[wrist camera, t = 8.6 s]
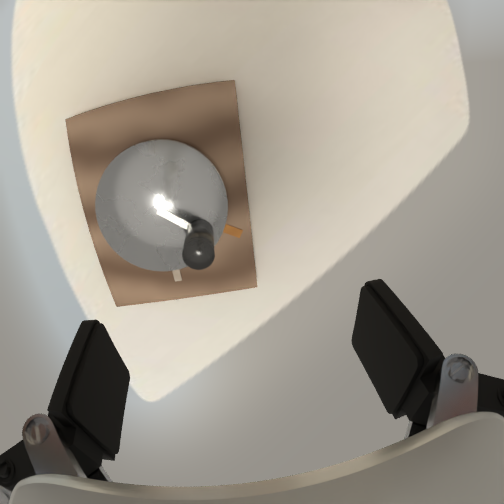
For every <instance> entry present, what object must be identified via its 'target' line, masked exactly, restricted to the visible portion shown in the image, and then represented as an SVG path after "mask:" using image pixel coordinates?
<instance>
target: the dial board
mask: <svg viewBox="0 0 504 504" xmlns="http://www.w3.org/2000/svg"><path fill="white" fill-rule="evenodd" d="M66 126H67V133H68V140H69V146H70V151H71V157H72V162H73V167H74V172H75V177H76V181H77V186H78V190H79V194H80V198H81V202H82V206H83V210H84V213H85V217H86V220H87V224H88V227H89V231H90V234H91V237H92V240H93V244H94V247H95V250H96V253H97V256H98V259H99V262H100V264H101V267H102V270H103V273H104V276H105V278H106V281H107V284H108V286H109V289H110V291H111V294H112V296H113V299H114V301H115V304H116V306H117V307H118V306H127V305H135V304H143V303H151V302H159V301H167V300H174V299H181V298H189V297H196V296H203V295H209V294H216V293H223V292H229V291H236V290H242V289H248V288H255V287H257V279H256V270H255V261H254V252H253V242H252V233H251V224H250V215H249V206H248V197H247V188H246V178H245V169H244V160H243V151H242V142H241V133H240V124H239V115H238V106H237V97H236V88H235V80H230V81H221V82H213V83H206V84H199V85H192V86H186V87H181V88H175V89H170V90H165V91H160V92H156V93H151V94H147V95H143V96H138V97H135V98H131V99H127V100H123V101H120V102H116V103H113V104H109V105H106V106H103V107H100V108H96V109H93V110H90V111H87V112H85V113H82V114H79V115H76V116H73V117H71V118H68V119H66ZM157 139H169V140H175V141H179V142H182V143H185V144H188V145H190V146H192V147H194V148H196V149H197V150H199V151H200V152H202V153H203V154H204V155H205V156H206V157H207V158H208V159H209V160H210V161H211V162H212V163H213V164H214V166H215V167H216V169H217V170H218V172H219V174H220V176H221V178H222V180H223V183H224V186H225V189H226V194H227V200H228V213H227V220H226V224H225V228H224V230H223V233H222V235H221V237H220V239H219V241H218V242H217V244H216V245H215V246H214V251H215V258H214V261H213V263H212V264H211V265H210V266H209V267H207V268H205V269H202V270H195V269H192V268H190V267H185V268H182V269H179V270H173V271H152V270H147V269H144V268H140V267H138V266H135V265H133V264H131V263H129V262H128V261H126V260H124V259H123V258H122V257H121V256H119V255H118V254H117V253H116V252H115V251H114V250H113V249H112V248H111V247H110V245H109V244H108V243H107V241H106V240H105V238H104V237H103V235H102V232H101V230H100V228H99V225H98V222H97V217H96V211H95V199H96V192H97V187H98V184H99V181H100V179H101V177H102V175H103V173H104V171H105V170H106V168H107V167H108V165H109V164H110V163H111V162H112V161H113V160H114V158H115V157H117V156H118V155H119V154H120V153H122V152H123V151H125V150H126V149H128V148H130V147H132V146H134V145H136V144H139V143H142V142H146V141H150V140H157Z"/></svg>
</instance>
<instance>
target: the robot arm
mask: <svg viewBox="0 0 504 504" xmlns="http://www.w3.org/2000/svg"><path fill="white" fill-rule="evenodd" d="M352 345H353V348H354V350H355V351H356V353H357V355H358V357H359V359H360V361H361V362H362V364H363V366H364V368H365V370H366V372H367V374H368V376H369V377H370V379H371V381H372V383H373V385H374V387H375V389H376V391H377V393H378V395H379V397H380V398H381V401H382V403H383V404H384V406H385V408H386V410H387V412H388V413H389V414H393V416H394V418H395V419H397V418H400V417H401V416H404V415H407V417H408V419H409V424H408V428H407V431H406V435H405V438H404V440H402V441H399V442H397V443H395V444H392V445H390V446H387V447H385V448H382V449H379V450H377V451H374V452H372V453H369V454H366V455H363V456H361V457H358V458H355V459H352V460H349V461H346V462H342V463H339V464H336V465H332V466H329V467H326V468H321V469H318V470H314V471H310V472H305V473H301V474H297V475H292V476H287V477H282V478H277V479H271V480H264V481H258V482H250V483H242V484H233V485H220V486H201V487H164V486H146V485H134V484H123V483H115V482H113V481H112V480H111V479H110V477H109V476H108V474H107V473H106V472H105V470H104V468H103V467H102V465H101V463H102V459H105V460H115V454H117V453H118V452H119V446H120V438H121V431H122V424H123V416H124V410H125V403H126V398H127V392H128V386H129V381H130V374H129V371H128V369H127V367H126V366H125V364H124V362H123V360H122V359H121V357H120V355H119V353H118V351H117V349H116V348H115V346H114V344H113V342H112V340H111V338H110V336H109V334H108V332H107V330H106V328H105V326H104V325H103V324H102V323H100V322H99V321H98V320H85V321H82V323H81V325H80V327H79V329H78V331H77V333H76V336H75V338H74V340H73V343H72V345H71V347H70V350H69V352H68V355H67V357H66V360H65V362H64V365H63V367H62V370H61V372H60V375H59V378H58V380H57V383H56V386H55V389H54V392H53V394H52V398H51V400H50V403H49V406H48V411H49V413H48V416H47V415H45V414H35V415H32V416H31V417H30V418H28V419H27V421H26V422H25V424H24V426H23V430H22V436H23V440H22V441H20V442H19V443H17V444H16V445H15V446H13V447H12V448H10V449H9V450H7V451H6V452H4V453H3V454H1V455H0V504H504V380H503V379H499V378H495V377H491V376H487V375H484V374H480V373H478V369H477V366H476V364H475V362H474V361H473V360H472V359H471V358H469V357H468V356H466V355H463V354H451V355H450V356H448V357H446V358H445V357H444V356H443V353H442V352H441V350H440V349H439V348H438V346H437V345H436V344H435V342H434V341H433V340H432V339H431V337H430V336H429V335H428V333H427V332H426V331H425V330H424V328H423V327H422V326H421V325H420V324H419V322H418V321H417V320H416V319H415V317H414V316H413V315H412V314H411V313H410V312H409V310H408V309H407V308H406V307H405V305H404V304H403V303H402V302H401V301H400V300H399V298H398V297H397V296H396V295H395V294H394V293H393V291H392V290H391V289H390V288H389V287H388V286H387V285H386V283H385V282H384V281H383V280H382V279H378V280H372V281H368V282H366V283H365V286H363V287H362V288H361V292H360V298H359V304H358V309H357V315H356V321H355V326H354V330H353V335H352Z"/></svg>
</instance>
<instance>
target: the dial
mask: <svg viewBox="0 0 504 504" xmlns="http://www.w3.org/2000/svg"><path fill="white" fill-rule="evenodd" d="M95 211H96V217H97V222H98V225H99V228H100V230H101V232H102V235H103V237H104V238H105V240H106V241H107V243H108V244H109V245H110V247H111V248H112V249H113V250H114V251H115V252H116V253H117V254H118V255H119V256H121V257H122V258H123V259H124V260H126V261H128V262H129V263H131V264H133V265H135V266H138V267H140V268H144V269H147V270H152V271H173V270H179V269H182V268H185V267H190V268H192V269H195V270H202V269H205V268H207V267H209V266H210V265H211V264H212V263H213V261H214V258H215V251H214V246H215V245H216V244H217V242H218V241H219V239H220V237H221V235H222V233H223V230H224V228H225V224H226V220H227V213H228V200H227V194H226V189H225V186H224V183H223V180H222V178H221V176H220V174H219V172H218V170H217V169H216V167H215V166H214V164H213V163H212V162H211V161H210V160H209V159H208V158H207V157H206V156H205V155H204V154H203V153H202V152H200V151H199V150H197V149H196V148H194V147H192V146H190V145H188V144H185V143H182V142H179V141H175V140H169V139H157V140H150V141H146V142H142V143H139V144H136V145H134V146H132V147H130V148H128V149H126V150H125V151H123V152H122V153H120V154H119V155H118V156H117V157H115V158H114V160H113V161H112V162H111V163H110V164H109V165H108V167H107V168H106V170H105V171H104V173H103V175H102V177H101V179H100V181H99V184H98V187H97V192H96V199H95Z"/></svg>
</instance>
